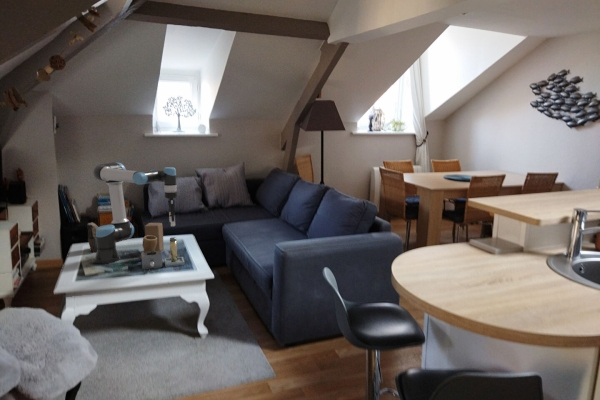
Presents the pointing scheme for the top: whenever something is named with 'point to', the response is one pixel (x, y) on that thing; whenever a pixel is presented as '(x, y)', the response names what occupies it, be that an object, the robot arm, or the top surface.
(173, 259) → the cylindrical container
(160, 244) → the wooden block
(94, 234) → the owl
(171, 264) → the tray
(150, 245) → the stone cup
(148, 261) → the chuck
